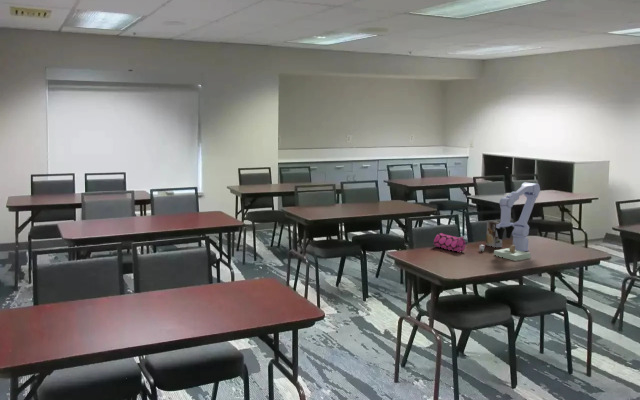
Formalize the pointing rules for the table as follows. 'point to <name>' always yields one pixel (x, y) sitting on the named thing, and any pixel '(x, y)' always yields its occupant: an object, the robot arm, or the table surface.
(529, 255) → the board
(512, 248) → the long pin
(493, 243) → the coffee box
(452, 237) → the pink foam roller
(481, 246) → the short pin
